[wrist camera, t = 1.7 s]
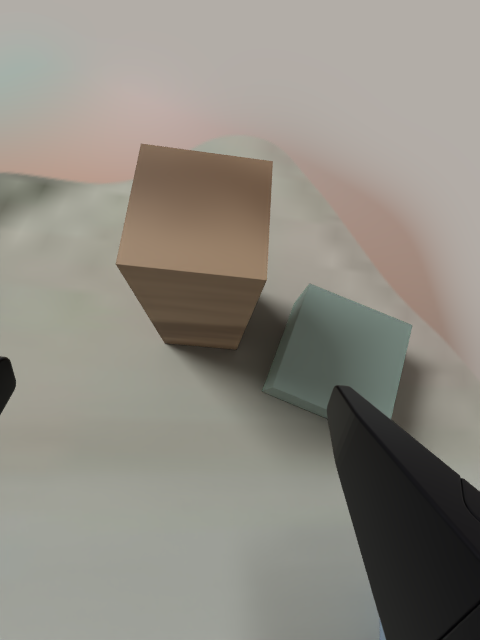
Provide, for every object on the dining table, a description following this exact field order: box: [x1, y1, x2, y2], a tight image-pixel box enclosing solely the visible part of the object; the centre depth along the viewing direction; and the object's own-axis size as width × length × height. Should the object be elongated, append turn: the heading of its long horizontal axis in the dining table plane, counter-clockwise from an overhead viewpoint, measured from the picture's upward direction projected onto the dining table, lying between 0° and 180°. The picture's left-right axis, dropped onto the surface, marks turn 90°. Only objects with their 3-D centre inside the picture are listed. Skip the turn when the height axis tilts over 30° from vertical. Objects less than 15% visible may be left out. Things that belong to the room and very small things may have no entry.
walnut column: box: [116, 144, 273, 350], centre depth 17 cm, size 5×5×12 cm
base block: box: [262, 284, 412, 419], centre depth 21 cm, size 7×7×4 cm
